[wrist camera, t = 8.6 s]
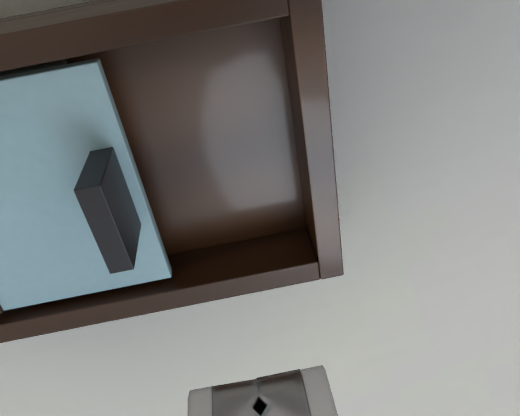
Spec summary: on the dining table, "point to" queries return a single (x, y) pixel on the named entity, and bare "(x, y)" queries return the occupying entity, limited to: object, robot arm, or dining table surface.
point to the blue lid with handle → (70, 191)
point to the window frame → (203, 143)
